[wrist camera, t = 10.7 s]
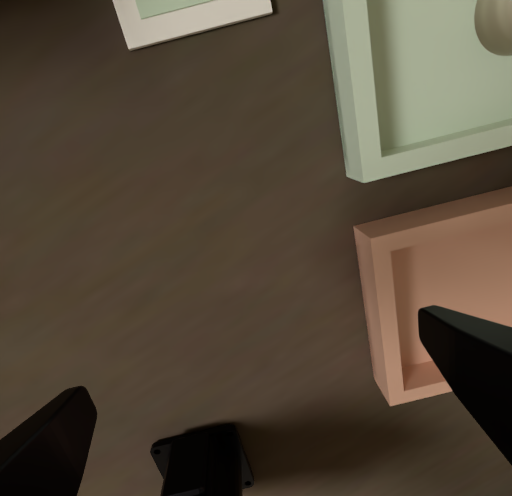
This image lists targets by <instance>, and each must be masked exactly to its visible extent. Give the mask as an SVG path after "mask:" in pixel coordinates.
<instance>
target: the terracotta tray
mask: <svg viewBox="0 0 512 496" xmlns="http://www.w3.org/2000/svg"><path fill="white" fill-rule="evenodd" d="M353 227H354V234H355V242H356V249H357V257H358V264H359V271H360V279H361V286H362V293H363V301H364V308H365V315H366V323H367V330H368V337H369V345H370V352H371V359H372V367H373V374H374V379H375V381H376V383H377V385H378V386H379V388H380V390H381V391H382V393H383V395H384V397H385V398H386V400H387V402H388V403H389V405H390V406H394V405H398V404H402V403H406V402H410V401H414V400H418V399H422V398H427V397H431V396H435V395H439V394H443V393H447V392H451V391H452V389H451V388H450V386H449V385H448V383H447V382H446V380H445V379H444V377H443V375H442V374H441V372H440V371H439V369H438V368H437V366H436V365H435V363H434V362H433V360H432V359H431V357H430V355H429V354H428V352H427V351H426V349H425V348H424V346H423V345H422V343H421V341H420V338H419V331H418V310H419V309H420V308H422V307H427V306H431V305H437V306H440V307H444V308H447V309H451V310H454V311H458V312H461V313H464V314H468V315H471V316H475V317H478V318H482V319H485V320H489V321H492V322H496V323H499V324H503V325H506V326H509V327H512V186H510V187H506V188H502V189H498V190H494V191H490V192H486V193H482V194H478V195H474V196H470V197H466V198H462V199H458V200H454V201H450V202H446V203H442V204H438V205H434V206H430V207H427V208H423V209H419V210H415V211H411V212H407V213H403V214H399V215H395V216H391V217H387V218H383V219H379V220H375V221H371V222H367V223H363V224H359V225H355V226H353Z"/></svg>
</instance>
